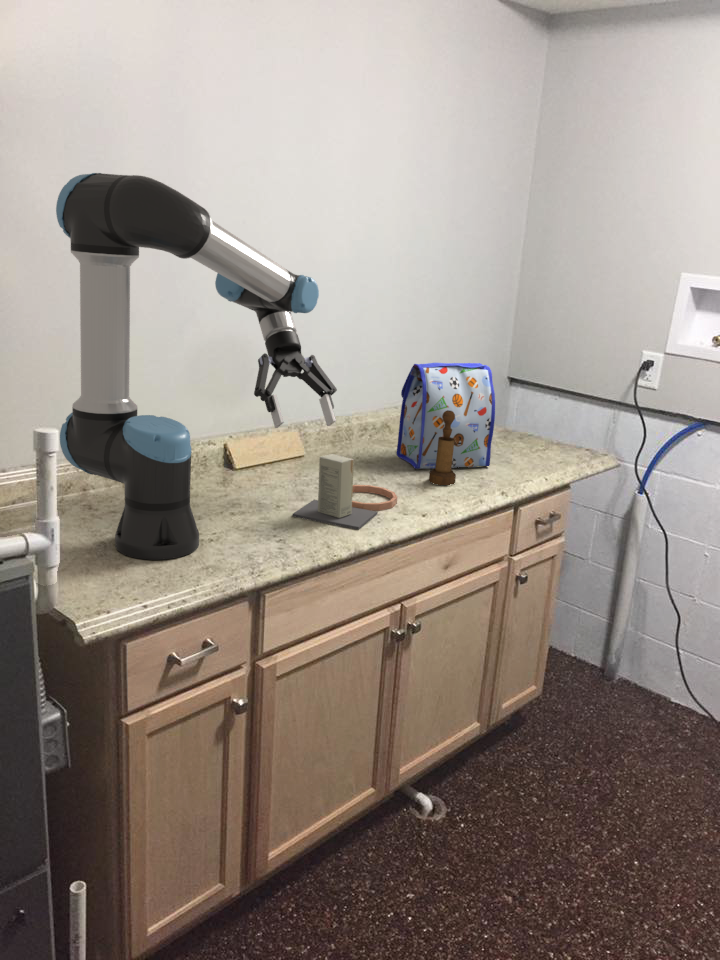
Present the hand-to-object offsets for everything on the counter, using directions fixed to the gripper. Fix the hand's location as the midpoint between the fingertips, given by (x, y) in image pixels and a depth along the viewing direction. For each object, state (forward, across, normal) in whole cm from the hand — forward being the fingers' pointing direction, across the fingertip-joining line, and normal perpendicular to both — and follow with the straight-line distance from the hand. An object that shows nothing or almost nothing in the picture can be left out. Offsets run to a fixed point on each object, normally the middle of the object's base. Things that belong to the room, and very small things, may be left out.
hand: (306, 424), depth 181 cm
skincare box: (+20, -2, -2) cm, 20 cm away
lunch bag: (+5, -53, -17) cm, 56 cm away
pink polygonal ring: (+17, -14, -6) cm, 23 cm away
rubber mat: (+20, -2, -2) cm, 21 cm away
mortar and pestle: (+14, -40, -7) cm, 43 cm away
